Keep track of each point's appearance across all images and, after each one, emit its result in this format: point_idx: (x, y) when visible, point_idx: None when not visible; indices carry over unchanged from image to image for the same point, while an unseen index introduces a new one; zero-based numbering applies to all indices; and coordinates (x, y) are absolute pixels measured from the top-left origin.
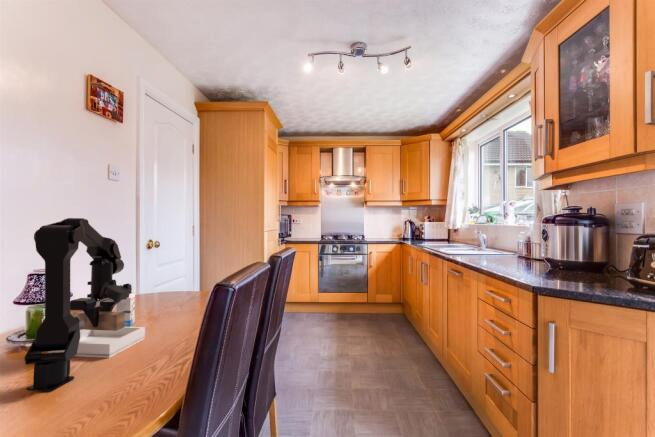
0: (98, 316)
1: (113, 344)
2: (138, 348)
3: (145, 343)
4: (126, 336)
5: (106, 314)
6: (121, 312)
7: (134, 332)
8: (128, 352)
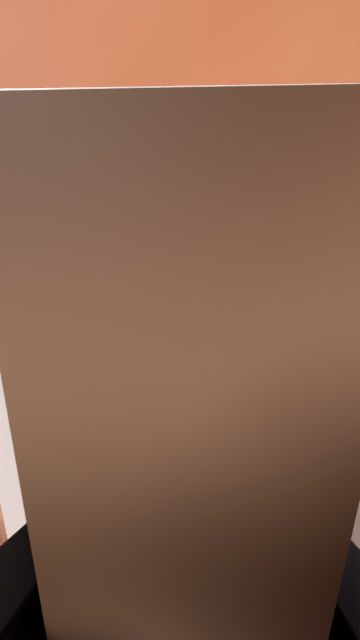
0: (349, 599)
1: None
2: (209, 21)
3: (97, 44)
4: (236, 85)
5: (322, 512)
6: (43, 195)
7: (102, 87)
8: (297, 49)
